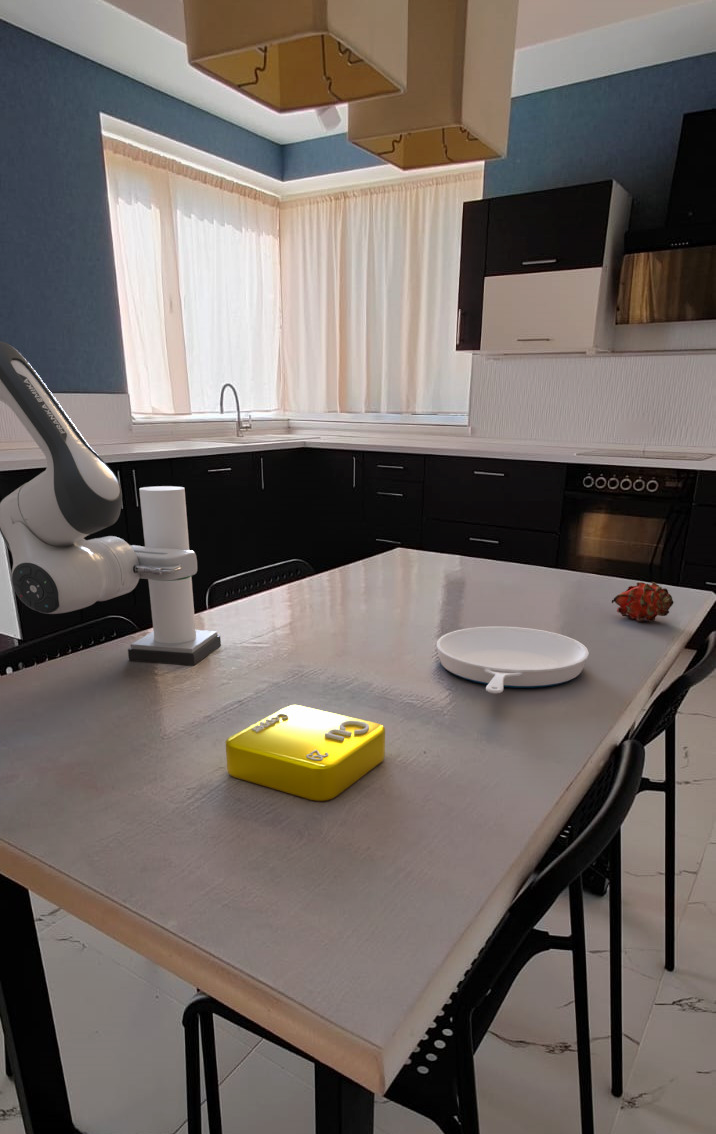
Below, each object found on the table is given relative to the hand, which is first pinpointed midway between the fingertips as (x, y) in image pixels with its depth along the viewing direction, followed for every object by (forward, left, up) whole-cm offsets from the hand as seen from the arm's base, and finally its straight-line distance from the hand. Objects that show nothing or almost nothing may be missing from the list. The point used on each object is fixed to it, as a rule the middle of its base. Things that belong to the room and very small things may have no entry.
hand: (162, 552), depth 127 cm
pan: (+58, +1, -18) cm, 60 cm away
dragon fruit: (+83, +45, -18) cm, 96 cm away
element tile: (+35, -38, -18) cm, 55 cm away
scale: (0, +1, -18) cm, 18 cm away
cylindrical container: (0, +1, -15) cm, 15 cm away
